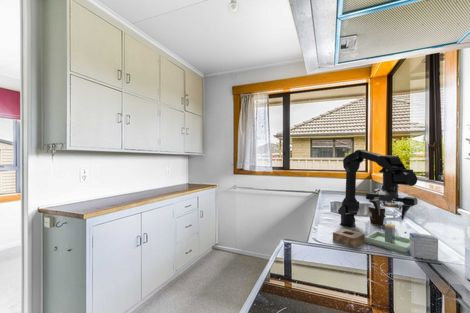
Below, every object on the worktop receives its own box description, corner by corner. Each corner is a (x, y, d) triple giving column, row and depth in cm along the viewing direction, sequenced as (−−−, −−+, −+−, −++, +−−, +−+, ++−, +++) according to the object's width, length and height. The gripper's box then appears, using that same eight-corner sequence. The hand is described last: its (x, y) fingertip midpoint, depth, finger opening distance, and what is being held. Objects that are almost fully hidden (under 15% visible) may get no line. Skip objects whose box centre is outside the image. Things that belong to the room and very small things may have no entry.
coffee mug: (368, 220, 140) (368, 204, 139) (384, 223, 135) (384, 206, 135) (368, 225, 129) (368, 208, 129) (386, 228, 125) (386, 210, 125)
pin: (384, 241, 103) (384, 224, 103) (387, 240, 105) (387, 223, 105) (392, 244, 101) (392, 226, 101) (394, 242, 103) (394, 224, 103)
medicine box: (432, 256, 91) (432, 234, 91) (438, 261, 86) (438, 238, 86) (409, 253, 93) (409, 232, 93) (413, 258, 89) (413, 236, 89)
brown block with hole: (332, 240, 107) (332, 232, 107) (342, 236, 113) (343, 228, 113) (354, 247, 99) (354, 238, 99) (364, 242, 105) (364, 233, 105)
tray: (364, 242, 105) (364, 236, 105) (376, 235, 114) (376, 230, 114) (406, 254, 93) (406, 247, 92) (415, 245, 101) (415, 240, 101)
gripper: (360, 182, 105) (360, 216, 105) (410, 186, 91) (410, 225, 91) (370, 181, 112) (370, 212, 112) (417, 184, 98) (417, 220, 98)
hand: (390, 217), depth 103 cm, fingers open, 9 cm apart
